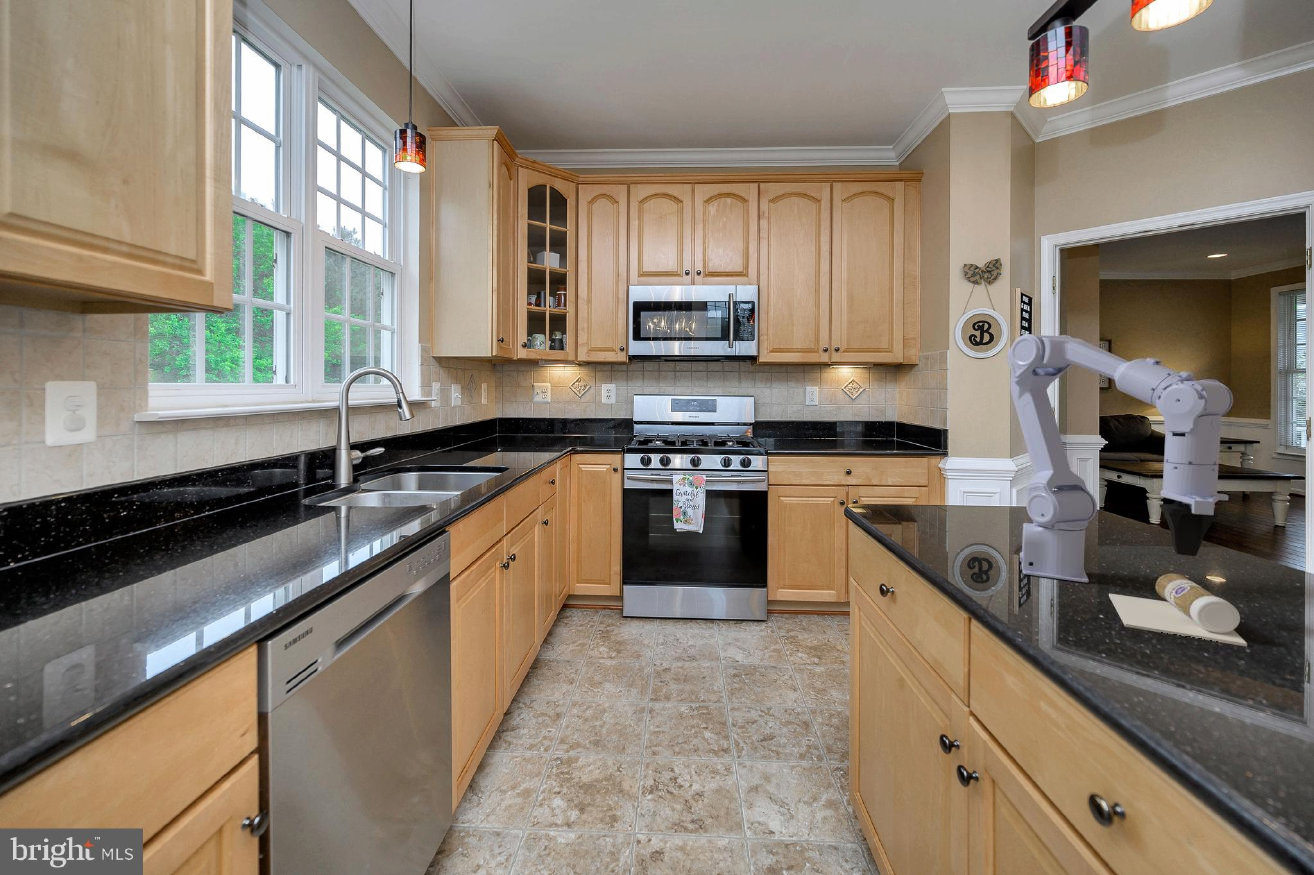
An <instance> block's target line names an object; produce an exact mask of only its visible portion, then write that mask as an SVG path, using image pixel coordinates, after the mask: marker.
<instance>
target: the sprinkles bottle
mask: <svg viewBox="0 0 1314 875" xmlns="http://www.w3.org/2000/svg"><path fill="white" fill-rule="evenodd" d="M1155 591H1156V592H1157V594H1158V596H1160V597H1161V598H1162V599H1164V600H1165V601H1166V602H1170V603H1171V604H1172V605H1174V606H1175V607H1176V608H1178V609H1179V610H1181V611H1182V612H1183V613H1185V614H1186V615H1188V616H1189V617H1191V618H1192V619H1193V620H1194V621H1195V622H1196V623H1197V624H1198V625H1200V626H1201V627H1203V628H1204V629H1206V630H1208V631H1211V632H1215V633H1225V632H1229V631H1232V630H1235V629H1236V628H1237V627H1238V626H1239V624H1240V621H1241V617H1240V616H1241V615H1240V612H1239V610H1238V609H1237V608H1236V607H1235V606H1234V605H1233V604H1231V602H1229V601H1227V600H1225V599H1224V598H1221V597H1218V596H1216V595H1214V594H1213V593H1212V592H1210V591H1208V590H1207V589H1205V588H1203V587H1202V586H1200V585H1198V584H1197V583H1195V582H1194V581H1192V580H1189V578H1187V577H1186V576H1184V575H1182V574H1178V573H1166V574H1163V575H1161V576H1159V577H1158V579H1157V580H1156V582H1155Z"/></svg>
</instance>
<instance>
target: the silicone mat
mask: <svg viewBox="0 0 1314 875" xmlns="http://www.w3.org/2000/svg"><path fill="white" fill-rule="evenodd" d="M1108 597H1109V599H1110V601H1111V602H1112V604H1113V606H1114V608H1115V610H1116V612H1117V613H1118V615H1119V618H1120V619H1121V621H1122V623H1123V625H1124V627H1126V628H1132V629H1138V630H1144V631H1151V632H1156V633H1161V632H1163V633H1162V634H1167V633H1168V635H1173V634H1177V635H1176V636H1179V635H1181V636H1180V637H1185V636H1191V637H1190V638H1192V637H1195V638H1194V639H1198V638H1202V639H1201V640H1204V639H1205V640H1206V641H1210V640H1212V641H1211V642H1216V641H1218V642H1217V643H1223V644H1227V645H1229V644H1230V645H1235V646H1241V647H1248V643H1247V642H1246V641H1245V640H1244V639H1243V638H1242V636H1240V635H1239V634H1238V633H1237V632H1236V631H1235V629H1233V630H1232V631H1229V632H1225V633H1215V632H1211V631H1208V630H1206V629H1204V628H1203V627H1201V626H1200V625H1198V624H1197V623H1196V622H1195V621H1194V620H1193V619H1192V618H1191V617H1189V616H1188V615H1186V614H1185V613H1183V612H1182V611H1181V610H1179V609H1178V608H1176V607H1175V606H1174V605H1172V604H1171V603H1170V602H1169V601H1167V600H1165V601H1163V600H1158V599H1151V598H1143V597H1136V596H1128V595H1122V594H1116V593H1108ZM1205 640H1204V641H1205Z"/></svg>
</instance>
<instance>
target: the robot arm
mask: <svg viewBox="0 0 1314 875" xmlns="http://www.w3.org/2000/svg"><path fill="white" fill-rule="evenodd" d="M1006 359H1007V361H1008V362H1007V363H1008V365H1009V369H1010V379H1009V380H1010V383H1009V387H1010V392H1011V396H1012V399H1013V403H1014V407H1015V410H1016V411H1015V412H1016V414H1017V417H1018V421H1019V424H1020V427H1021V432H1022V435H1023V438H1024V442H1025V446H1026V450H1027V452H1028V453H1027V454H1028V455H1029V461H1030V463H1031V467H1032V470H1033V475H1034V477H1033V478H1032V479H1031V480H1030V481H1029V482H1028V483H1027V484H1026V485H1025V491H1026V495H1027V498H1026V503H1025V504H1026V505H1025V506H1026V508H1025V509H1026V512H1027V514H1028V516H1029V517H1030V519H1031V520H1032V522H1033V523H1028V522H1023V524H1022V539H1021V540H1022V544H1021V546H1022V547H1021V551H1020V553H1019V562H1021V570H1022V572H1021V573H1022V574H1023V575H1028V576H1029V575H1030V576H1036V577H1044V578H1051V579H1058V580H1065V581H1073V582H1081V583H1089V581H1090V580H1089V578H1088V576H1087V573H1086V571H1085V569H1084V565H1085V564H1084V563H1085V562H1084V561H1085V543H1086V541H1085V540H1086V528H1087V527H1088V525H1089V521H1091V520H1092V519H1093V518H1095V516H1096V515H1097V514H1096V513H1097V511H1098V503H1097V500H1096V498H1095V496H1094V495H1093V494H1092V493H1091V492H1090V491H1089V489H1088V488H1087V485H1086V482H1085V480H1084V479H1083V478H1082V477H1080V476H1079V475H1078V474H1076V473H1075V472H1074V471H1072V470H1071V466H1070V464H1069V460H1068V457H1067V453H1066V450H1065V446H1064V443H1063V440H1062V437H1061V434H1060V430H1059V427H1058V424H1057V421H1056V417H1055V414H1054V410H1053V408H1052V407H1053V406H1052V404H1051V400H1050V398H1049V394H1048V388H1049V387H1050V386H1051V385H1052V383H1053V382H1055V380H1057V379H1058V378H1060V377H1061V376H1062V375H1063V374H1064V373H1065V372H1066V371H1068V369H1069V368H1071V367H1072V365H1075V366H1077V367H1080V368H1083V369H1085V370H1089V371H1091V372H1094V373H1097V374H1099V375H1102V376H1104V377H1107V378H1110V379H1111V380H1114V382H1115V386H1116V389H1117V390H1118V391H1120V392H1122V393H1125V394H1126V395H1128V396H1131V397H1133V398H1135V399H1138V400H1140V401H1142V402H1144V403H1147V404H1149V405H1151V406H1154V407H1156V409H1157V410H1158V413H1159V414H1160V415H1161V416H1162V417H1163V420H1164V426H1163V428H1165V435H1164V436H1165V438H1164V455H1163V456H1164V457H1163V474H1162V475H1163V476H1162V477H1163V478H1162V489H1161V490H1160V492H1159V494H1160V496H1161V497H1163V498H1165V499H1168V500H1173V501H1174V503H1172V504H1167V503H1163V504H1162V503H1161V504H1159V508H1160V509H1161V511H1162V513H1163V515H1164V517H1165V519H1166V521H1167V522H1166V523H1167V525H1168V528H1169V532H1170V537H1171V544H1172V546H1173V551H1174V553H1175V554H1176V555H1181V556H1188V557H1189V556H1190V557H1191V556H1192V557H1197V555H1198V553H1199V550H1200V548H1201V545H1202V542H1203V539H1204V537H1205V535H1206V533H1207V531H1208V529H1209V528H1210V526H1211V525H1212V523H1213V522H1215V521H1216V519H1217V518H1218V516H1219V512H1218V511H1216V510H1215V503H1216V502H1218V501H1229V495H1228V494H1226V493H1225V494H1224V493H1218V477H1219V466H1220V465H1219V463H1220V447H1221V432H1222V430H1221V429H1222V416H1224V415H1226V414H1227V413H1228V412H1229V411H1230V409H1231V408H1232V406H1233V403H1234V397H1233V393H1232V391H1231V389H1230V388H1229V387H1228V386H1226V385H1225V384H1223V383H1221V382H1220V381H1218V380H1217V379H1202V380H1196V379H1195V377H1194V376H1195V375H1194V372H1193V373H1192V372H1190V371H1185V370H1184V371H1179V370H1175V369H1173V368H1171V367H1167V366H1164V365H1162V363H1163V360H1161V359H1159V358H1156V357H1147V358H1143V357H1141V358H1136V359H1133V360H1130V361H1129V360H1126V359H1125V358H1122V357H1120V356H1119V355H1118V356H1117V355H1116V354H1113V353H1111V352H1109V351H1107V350H1105V349H1103V348H1101V347H1098V346H1096V345H1093V344H1091V343H1090V342H1087V341H1085V340H1084V339H1081V338H1076V337H1072V336H1070V335H1067V334H1062V335H1039V334H1038V335H1034V334H1033V333H1032V334H1022V335H1021V336H1019V337H1017V339H1015V341H1014V342H1013V344H1012V345H1011V347H1010V349H1009V350H1008V351H1007V354H1006Z"/></svg>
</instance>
